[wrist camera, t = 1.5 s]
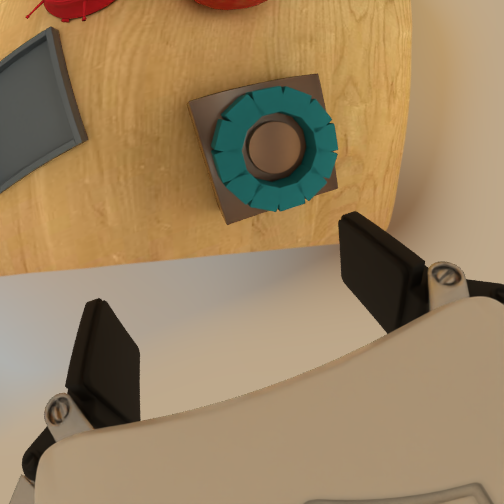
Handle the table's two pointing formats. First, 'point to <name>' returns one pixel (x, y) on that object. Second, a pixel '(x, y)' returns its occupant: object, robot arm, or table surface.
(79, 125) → the tray
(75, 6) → the alarm clock
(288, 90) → the ring
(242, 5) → the apple
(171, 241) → the table surface
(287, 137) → the platform
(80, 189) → the table surface
